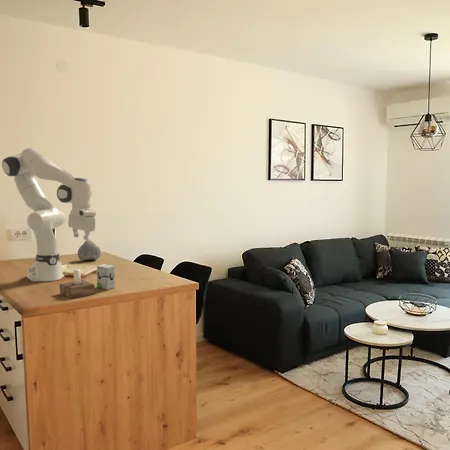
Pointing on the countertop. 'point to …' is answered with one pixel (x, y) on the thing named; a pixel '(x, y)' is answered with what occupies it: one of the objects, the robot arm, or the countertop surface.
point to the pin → (77, 277)
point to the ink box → (105, 276)
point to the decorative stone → (89, 251)
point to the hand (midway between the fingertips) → (81, 238)
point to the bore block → (77, 289)
